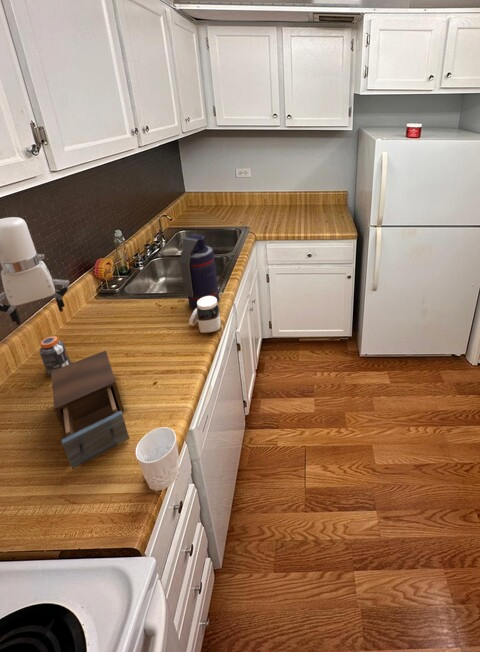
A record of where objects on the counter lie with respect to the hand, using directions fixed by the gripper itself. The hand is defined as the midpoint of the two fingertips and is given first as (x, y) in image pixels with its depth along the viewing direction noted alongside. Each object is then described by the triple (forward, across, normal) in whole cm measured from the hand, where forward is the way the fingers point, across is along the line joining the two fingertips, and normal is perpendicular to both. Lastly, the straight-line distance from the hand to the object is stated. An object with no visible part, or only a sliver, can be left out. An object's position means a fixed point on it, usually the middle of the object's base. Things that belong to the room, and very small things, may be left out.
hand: (40, 315), depth 95 cm
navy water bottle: (+20, -48, -6) cm, 52 cm away
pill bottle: (+20, 0, 0) cm, 20 cm away
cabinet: (+20, -6, +21) cm, 30 cm away
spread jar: (+20, -43, +8) cm, 48 cm away
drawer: (+19, -6, +35) cm, 40 cm away
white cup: (+20, -16, +53) cm, 59 cm away
